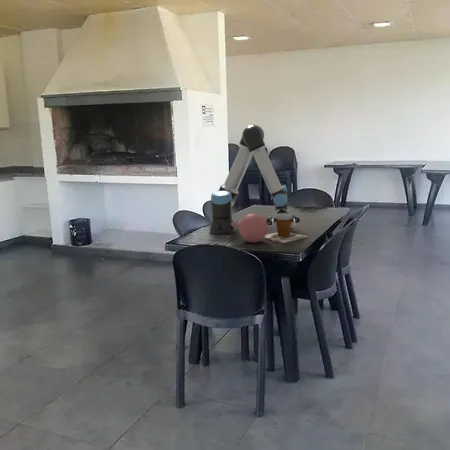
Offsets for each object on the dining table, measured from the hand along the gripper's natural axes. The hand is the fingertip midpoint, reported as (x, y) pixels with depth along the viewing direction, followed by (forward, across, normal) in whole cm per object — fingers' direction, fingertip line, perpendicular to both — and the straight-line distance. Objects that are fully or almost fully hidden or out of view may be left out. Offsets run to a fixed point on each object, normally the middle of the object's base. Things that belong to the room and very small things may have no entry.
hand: (283, 223), depth 282 cm
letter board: (-4, 0, -9) cm, 10 cm away
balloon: (+5, +18, -9) cm, 21 cm away
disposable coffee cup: (-4, 0, -8) cm, 9 cm away
